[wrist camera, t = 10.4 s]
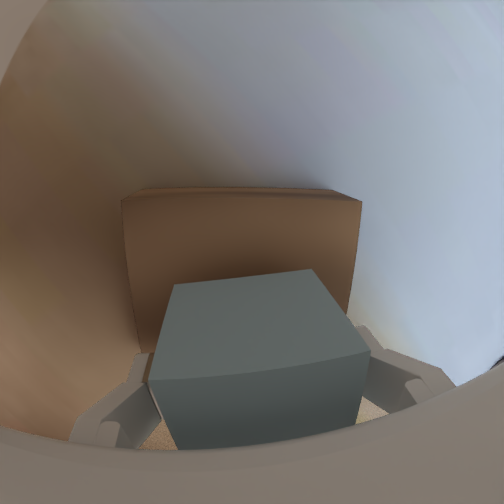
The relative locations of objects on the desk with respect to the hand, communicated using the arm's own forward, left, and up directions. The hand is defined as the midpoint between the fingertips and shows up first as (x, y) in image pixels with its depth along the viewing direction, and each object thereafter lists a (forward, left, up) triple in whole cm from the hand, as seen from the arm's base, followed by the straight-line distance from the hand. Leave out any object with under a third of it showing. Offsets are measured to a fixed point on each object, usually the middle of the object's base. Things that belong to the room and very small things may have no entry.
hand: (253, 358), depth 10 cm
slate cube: (0, 0, -2) cm, 2 cm away
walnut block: (0, 0, -8) cm, 8 cm away
